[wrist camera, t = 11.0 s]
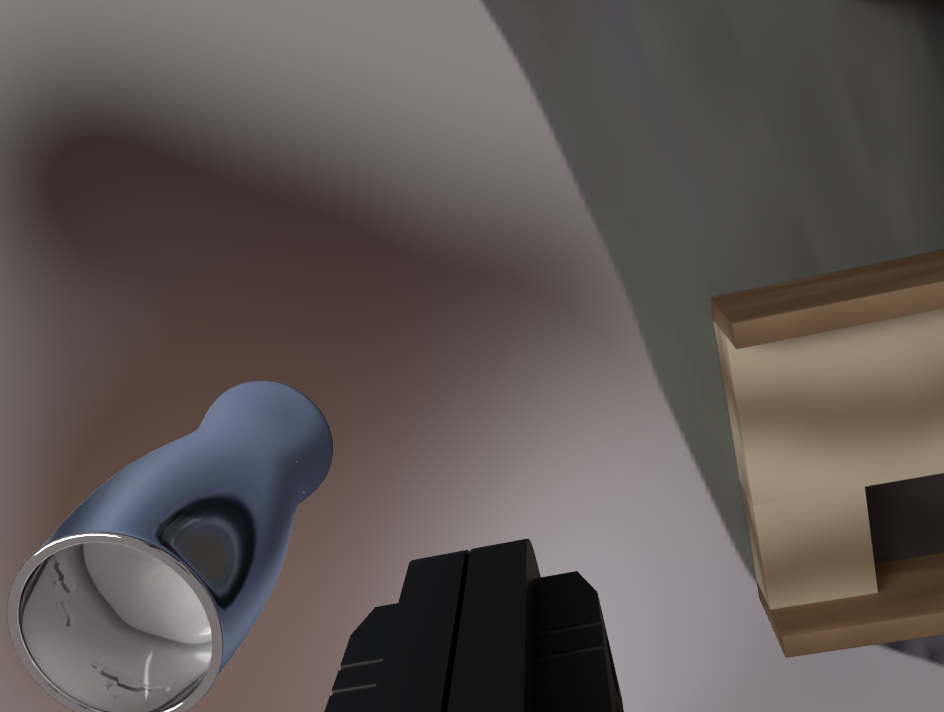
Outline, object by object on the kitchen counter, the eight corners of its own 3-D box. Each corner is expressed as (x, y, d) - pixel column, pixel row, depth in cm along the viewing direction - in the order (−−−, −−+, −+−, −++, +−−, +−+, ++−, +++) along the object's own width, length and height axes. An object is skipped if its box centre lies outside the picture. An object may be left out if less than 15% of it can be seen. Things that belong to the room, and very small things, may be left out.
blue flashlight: (242, 532, 41) (80, 762, 27) (167, 406, 40) (-48, 578, 25) (369, 478, 40) (272, 688, 25) (297, 346, 38) (150, 489, 24)
